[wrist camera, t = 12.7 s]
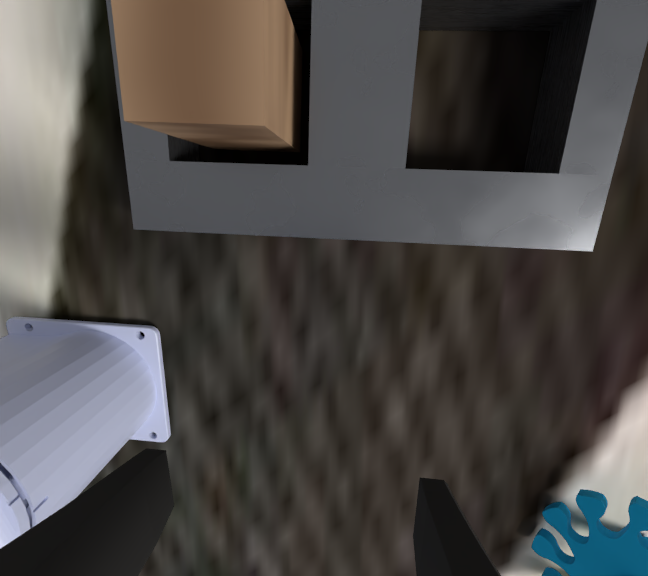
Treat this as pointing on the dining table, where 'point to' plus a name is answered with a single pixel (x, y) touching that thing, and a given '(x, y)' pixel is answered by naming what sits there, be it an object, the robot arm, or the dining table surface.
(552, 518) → the gear
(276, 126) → the walnut block
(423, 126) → the dining table surface
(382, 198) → the rail block
